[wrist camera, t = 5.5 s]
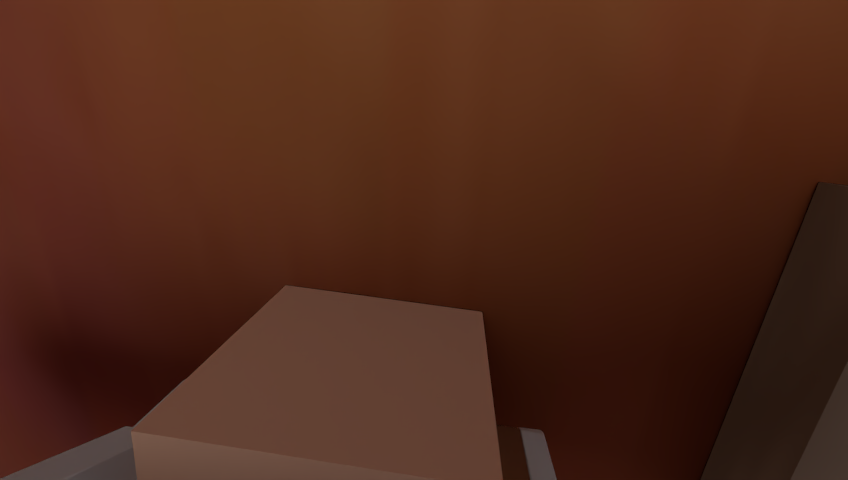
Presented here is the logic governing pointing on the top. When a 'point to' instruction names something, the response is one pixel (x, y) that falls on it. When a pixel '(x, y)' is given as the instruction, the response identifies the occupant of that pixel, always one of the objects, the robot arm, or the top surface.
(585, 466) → the top surface
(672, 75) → the top surface
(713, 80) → the top surface
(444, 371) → the cube
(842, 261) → the serving board
